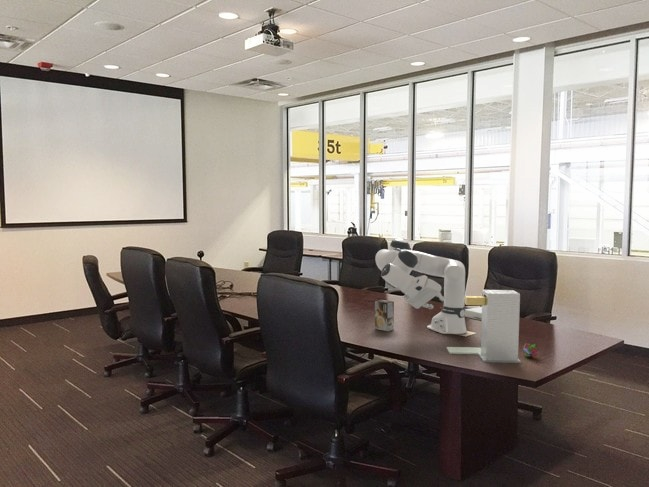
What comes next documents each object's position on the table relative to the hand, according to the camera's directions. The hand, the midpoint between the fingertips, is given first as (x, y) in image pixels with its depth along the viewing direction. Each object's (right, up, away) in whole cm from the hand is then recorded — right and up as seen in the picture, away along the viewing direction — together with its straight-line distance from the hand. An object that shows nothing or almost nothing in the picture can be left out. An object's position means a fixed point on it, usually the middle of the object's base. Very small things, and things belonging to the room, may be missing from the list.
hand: (438, 303), depth 242 cm
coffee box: (-19, -21, +53) cm, 60 cm away
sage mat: (+18, -24, +9) cm, 31 cm away
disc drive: (+49, -19, +87) cm, 102 cm away
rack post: (+27, -25, -2) cm, 37 cm away
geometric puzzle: (+43, -25, 0) cm, 49 cm away
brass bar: (+21, 0, -4) cm, 22 cm away
